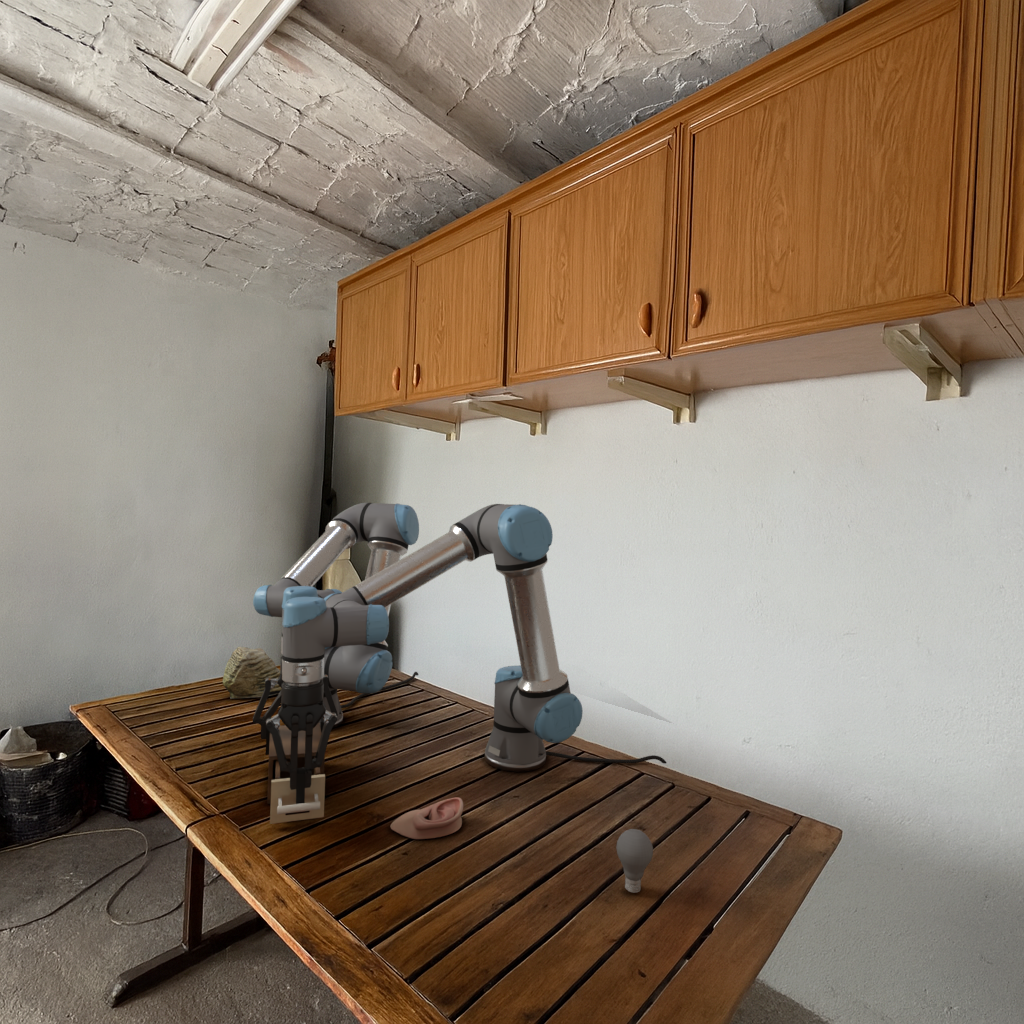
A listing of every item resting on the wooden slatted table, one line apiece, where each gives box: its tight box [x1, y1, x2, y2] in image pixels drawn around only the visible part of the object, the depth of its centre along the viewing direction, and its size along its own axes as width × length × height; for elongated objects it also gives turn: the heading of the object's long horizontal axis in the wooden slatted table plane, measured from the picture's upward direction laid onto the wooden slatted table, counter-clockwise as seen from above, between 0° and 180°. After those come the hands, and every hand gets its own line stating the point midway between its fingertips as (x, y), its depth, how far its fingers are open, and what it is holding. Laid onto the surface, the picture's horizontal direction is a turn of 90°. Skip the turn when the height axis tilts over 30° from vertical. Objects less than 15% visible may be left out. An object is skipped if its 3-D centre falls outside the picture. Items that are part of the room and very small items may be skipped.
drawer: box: [269, 756, 326, 825], centre depth 127 cm, size 22×10×8 cm, turn 20°
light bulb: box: [615, 828, 654, 894], centre depth 106 cm, size 6×6×10 cm
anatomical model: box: [390, 797, 464, 840], centre depth 124 cm, size 13×4×12 cm
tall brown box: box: [266, 723, 326, 805], centre depth 140 cm, size 18×11×10 cm, turn 20°
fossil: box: [222, 646, 282, 699], centre depth 198 cm, size 9×18×15 cm, turn 132°
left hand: (294, 750), depth 145 cm, fingers closed on tall brown box, 11 cm apart
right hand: (300, 804), depth 119 cm, fingers closed
